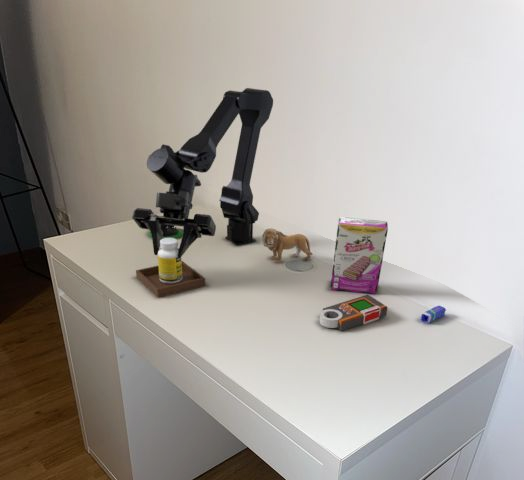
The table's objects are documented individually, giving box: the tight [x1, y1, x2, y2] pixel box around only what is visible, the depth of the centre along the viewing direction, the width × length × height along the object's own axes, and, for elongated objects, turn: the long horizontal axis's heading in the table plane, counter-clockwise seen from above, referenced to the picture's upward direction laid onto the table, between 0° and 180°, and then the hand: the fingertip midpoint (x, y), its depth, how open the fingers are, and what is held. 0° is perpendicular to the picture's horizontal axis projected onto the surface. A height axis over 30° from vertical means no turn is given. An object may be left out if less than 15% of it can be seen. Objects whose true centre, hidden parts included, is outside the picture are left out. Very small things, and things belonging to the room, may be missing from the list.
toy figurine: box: [148, 224, 183, 239], centre depth 155 cm, size 10×10×6 cm
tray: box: [135, 260, 206, 298], centre depth 129 cm, size 12×12×2 cm
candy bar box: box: [330, 216, 389, 295], centre depth 125 cm, size 11×5×16 cm, turn 81°
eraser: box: [420, 305, 447, 324], centre depth 117 cm, size 2×6×2 cm, turn 128°
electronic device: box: [319, 293, 388, 332], centre depth 116 cm, size 7×3×15 cm
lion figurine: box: [262, 228, 313, 263], centre depth 141 cm, size 15×5×9 cm, turn 113°
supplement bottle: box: [157, 238, 183, 284], centre depth 126 cm, size 5×5×10 cm
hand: (167, 255), depth 124 cm, fingers closed on supplement bottle, 5 cm apart
